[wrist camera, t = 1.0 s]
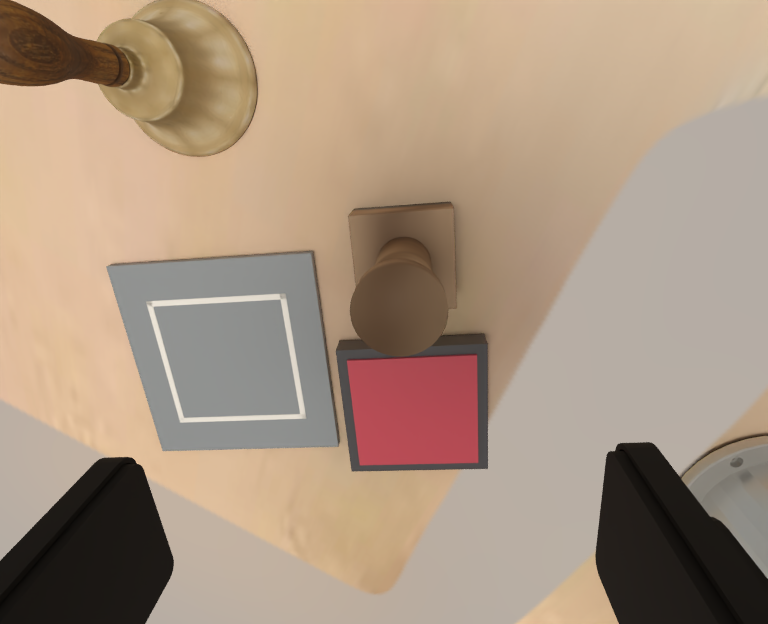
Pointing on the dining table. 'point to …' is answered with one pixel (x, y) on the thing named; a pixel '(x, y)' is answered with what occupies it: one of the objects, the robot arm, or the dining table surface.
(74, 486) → the robot arm
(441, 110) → the dining table surface
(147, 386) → the board
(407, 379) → the ink pad
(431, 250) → the stamp
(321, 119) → the dining table surface
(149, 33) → the hand bell
